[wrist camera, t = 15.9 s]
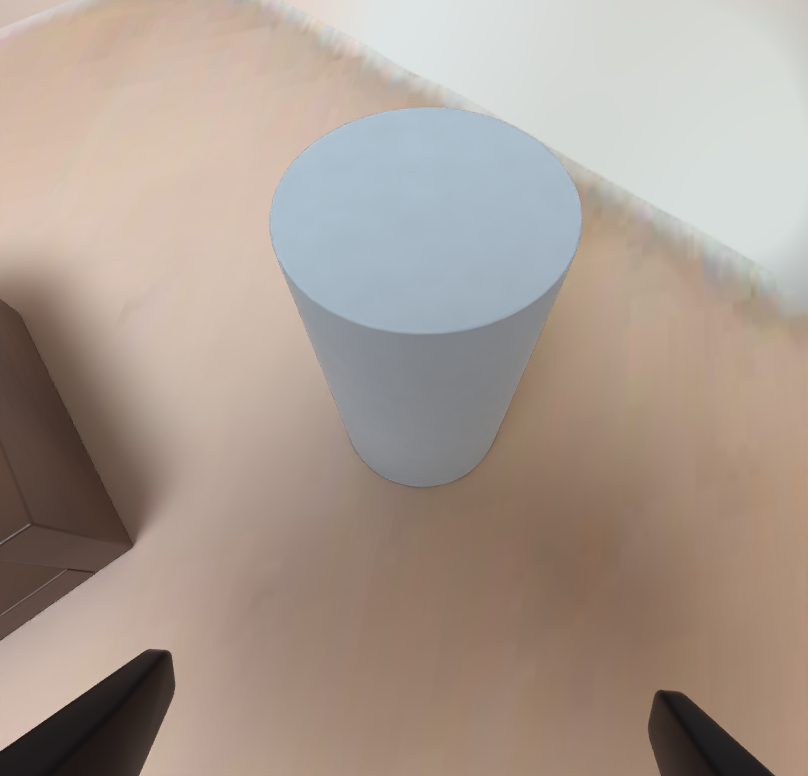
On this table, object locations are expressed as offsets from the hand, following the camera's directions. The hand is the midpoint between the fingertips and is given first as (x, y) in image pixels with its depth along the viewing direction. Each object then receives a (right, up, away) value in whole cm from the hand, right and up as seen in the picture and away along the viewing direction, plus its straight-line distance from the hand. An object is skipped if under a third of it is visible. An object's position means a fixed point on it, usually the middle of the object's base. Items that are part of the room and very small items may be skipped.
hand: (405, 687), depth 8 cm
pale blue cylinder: (+1, +4, +11) cm, 12 cm away
